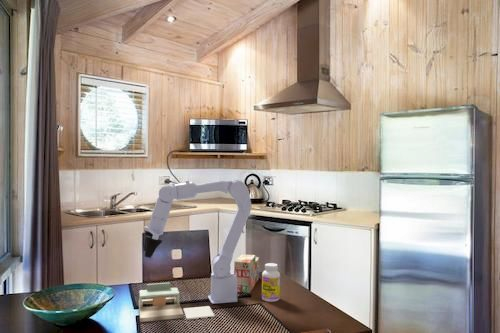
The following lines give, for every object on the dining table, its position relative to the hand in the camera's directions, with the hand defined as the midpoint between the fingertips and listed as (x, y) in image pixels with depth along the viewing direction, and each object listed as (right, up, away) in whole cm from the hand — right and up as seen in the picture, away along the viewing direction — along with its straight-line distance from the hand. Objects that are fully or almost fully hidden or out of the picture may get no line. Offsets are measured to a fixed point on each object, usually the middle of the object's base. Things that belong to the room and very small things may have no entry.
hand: (147, 253), depth 140 cm
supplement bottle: (+44, -18, +5) cm, 48 cm away
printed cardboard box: (+36, -18, +22) cm, 46 cm away
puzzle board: (+7, -17, -8) cm, 20 cm away
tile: (+20, -17, -10) cm, 28 cm away
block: (+5, -17, -4) cm, 18 cm away
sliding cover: (+5, -16, -4) cm, 17 cm away
